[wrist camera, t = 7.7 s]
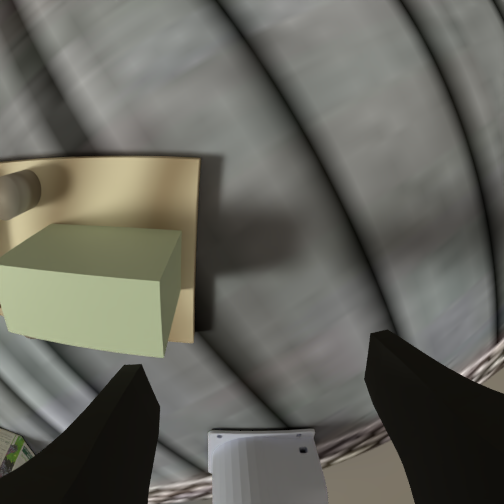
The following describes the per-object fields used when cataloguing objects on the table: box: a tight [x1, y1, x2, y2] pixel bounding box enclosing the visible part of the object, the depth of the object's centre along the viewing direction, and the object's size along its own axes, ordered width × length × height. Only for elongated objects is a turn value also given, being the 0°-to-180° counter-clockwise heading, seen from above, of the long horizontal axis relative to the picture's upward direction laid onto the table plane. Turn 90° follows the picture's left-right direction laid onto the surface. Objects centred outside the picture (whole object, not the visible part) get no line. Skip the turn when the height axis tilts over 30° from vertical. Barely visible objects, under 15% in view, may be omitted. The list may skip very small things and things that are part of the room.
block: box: [0, 224, 182, 358], centre depth 14 cm, size 8×4×6 cm, turn 84°
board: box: [0, 156, 201, 343], centre depth 16 cm, size 16×11×4 cm
